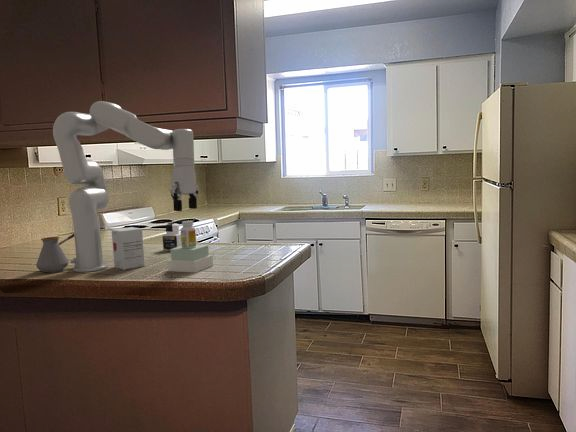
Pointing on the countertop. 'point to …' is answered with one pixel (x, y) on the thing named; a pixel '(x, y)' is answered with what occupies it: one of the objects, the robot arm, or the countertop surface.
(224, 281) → the countertop surface
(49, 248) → the coffee pot
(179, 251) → the block
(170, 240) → the medicine bottle
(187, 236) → the supplement bottle
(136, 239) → the supplement box
